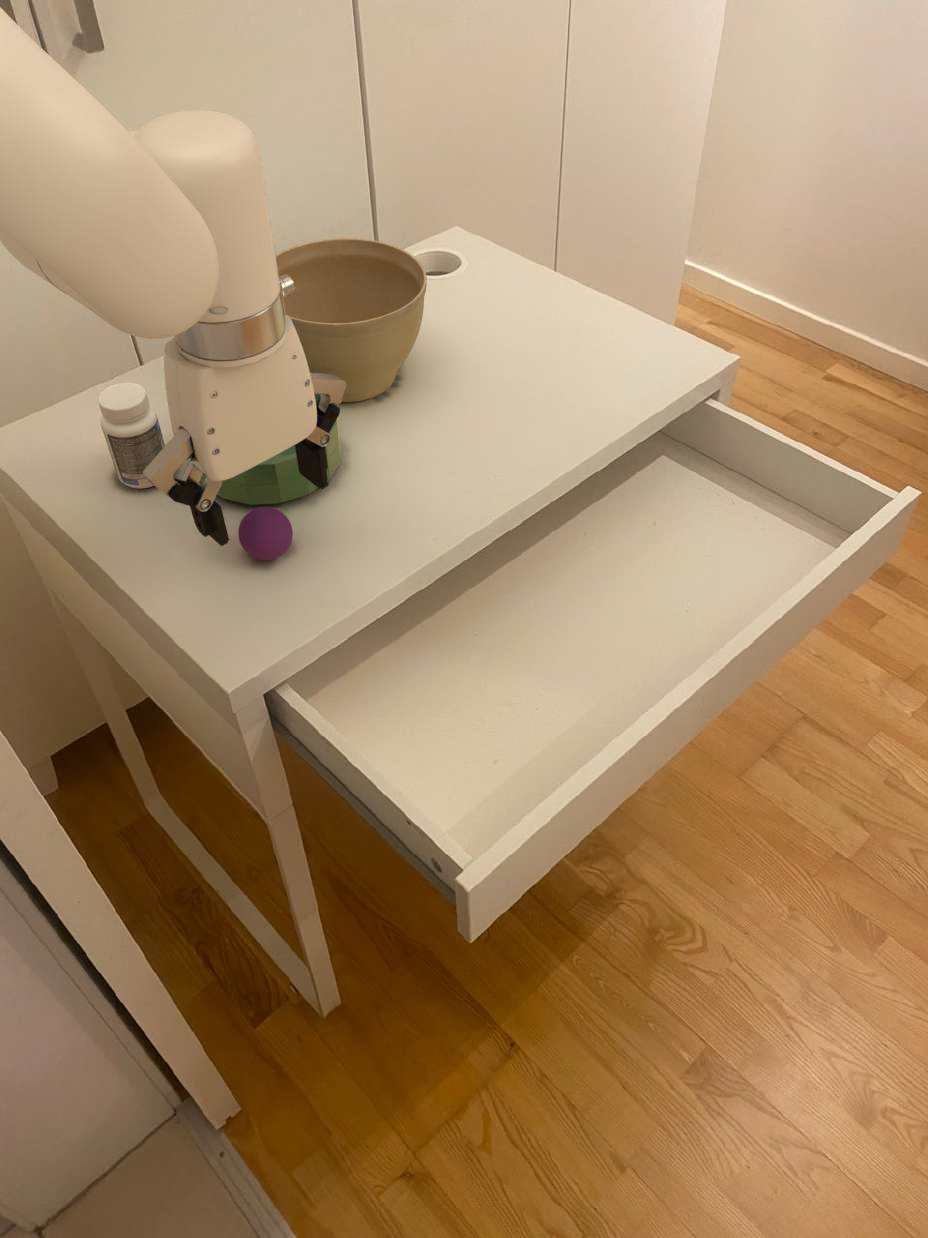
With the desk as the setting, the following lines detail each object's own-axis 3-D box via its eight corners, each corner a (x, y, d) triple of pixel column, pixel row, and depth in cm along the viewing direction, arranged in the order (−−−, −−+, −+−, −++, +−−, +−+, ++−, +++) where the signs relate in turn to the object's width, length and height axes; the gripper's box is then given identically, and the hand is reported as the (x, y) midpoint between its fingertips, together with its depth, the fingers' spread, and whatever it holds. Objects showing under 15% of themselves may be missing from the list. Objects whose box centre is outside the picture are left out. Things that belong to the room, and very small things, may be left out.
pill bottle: (182, 472, 87) (162, 395, 81) (137, 497, 85) (113, 419, 79) (151, 449, 89) (129, 372, 83) (107, 473, 87) (81, 395, 81)
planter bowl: (439, 341, 102) (439, 243, 94) (411, 432, 92) (409, 331, 84) (293, 326, 104) (280, 228, 96) (248, 415, 93) (230, 313, 85)
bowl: (170, 491, 85) (157, 446, 82) (235, 407, 94) (227, 363, 90) (307, 522, 83) (301, 478, 79) (361, 433, 92) (358, 389, 88)
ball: (233, 564, 80) (224, 525, 76) (256, 530, 82) (248, 490, 79) (282, 576, 79) (275, 537, 75) (303, 541, 82) (298, 502, 78)
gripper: (298, 252, 70) (322, 439, 83) (83, 343, 62) (147, 534, 75) (363, 293, 66) (378, 481, 79) (144, 394, 59) (200, 585, 72)
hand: (265, 507), depth 77 cm, fingers open, 9 cm apart
